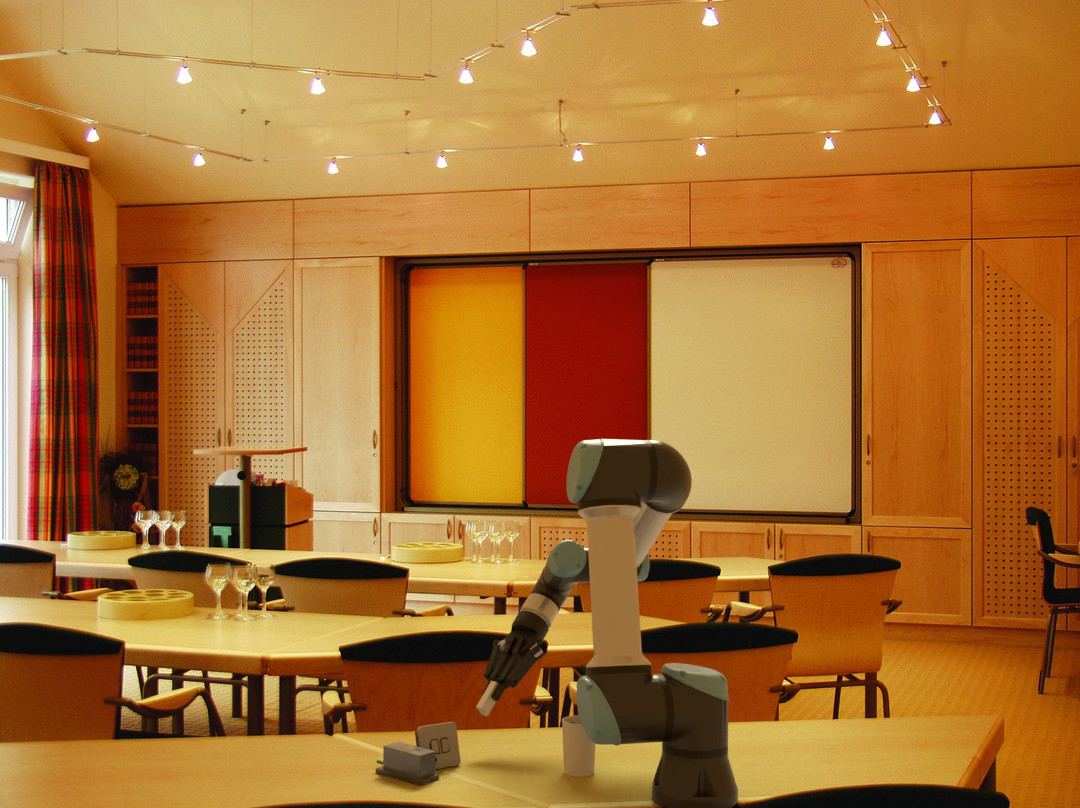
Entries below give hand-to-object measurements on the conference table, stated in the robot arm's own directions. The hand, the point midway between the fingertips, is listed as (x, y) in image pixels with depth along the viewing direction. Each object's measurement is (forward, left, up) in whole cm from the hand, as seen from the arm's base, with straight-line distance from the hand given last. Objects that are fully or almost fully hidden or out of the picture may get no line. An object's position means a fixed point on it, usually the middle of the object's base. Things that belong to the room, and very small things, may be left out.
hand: (481, 711), depth 220 cm
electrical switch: (0, +13, -9) cm, 15 cm away
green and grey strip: (+10, +10, -8) cm, 16 cm away
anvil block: (0, +20, -8) cm, 22 cm away
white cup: (-23, -3, -9) cm, 25 cm away
